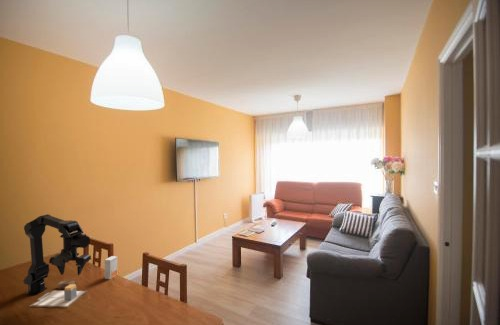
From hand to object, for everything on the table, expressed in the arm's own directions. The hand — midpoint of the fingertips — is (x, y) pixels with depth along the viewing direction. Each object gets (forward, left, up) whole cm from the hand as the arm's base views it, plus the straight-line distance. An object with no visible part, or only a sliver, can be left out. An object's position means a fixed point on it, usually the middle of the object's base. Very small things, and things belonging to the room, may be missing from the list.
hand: (70, 274), depth 123 cm
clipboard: (-6, 0, -13) cm, 14 cm away
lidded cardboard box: (0, -1, -12) cm, 12 cm away
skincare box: (+7, +23, -13) cm, 27 cm away
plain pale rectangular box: (-12, +11, -13) cm, 20 cm away
